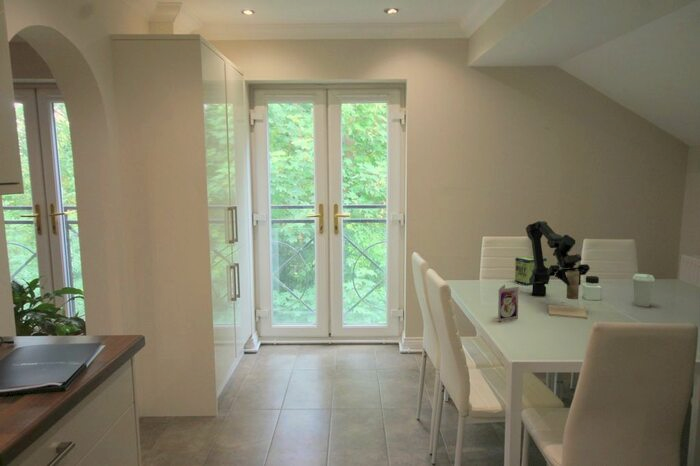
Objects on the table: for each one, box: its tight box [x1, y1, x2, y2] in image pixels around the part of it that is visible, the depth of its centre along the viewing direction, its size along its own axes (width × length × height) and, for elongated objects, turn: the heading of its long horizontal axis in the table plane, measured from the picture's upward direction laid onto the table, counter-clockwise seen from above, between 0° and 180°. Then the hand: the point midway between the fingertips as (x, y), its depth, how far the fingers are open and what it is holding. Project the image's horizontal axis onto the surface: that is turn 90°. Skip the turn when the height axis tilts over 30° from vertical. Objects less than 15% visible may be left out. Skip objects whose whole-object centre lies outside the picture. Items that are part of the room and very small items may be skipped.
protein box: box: [514, 255, 548, 286], centre depth 283 cm, size 10×16×16 cm
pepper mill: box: [566, 270, 580, 300], centre depth 219 cm, size 5×5×13 cm
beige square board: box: [548, 304, 588, 319], centre depth 220 cm, size 16×16×1 cm
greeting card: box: [497, 284, 520, 323], centre depth 211 cm, size 11×7×15 cm, turn 113°
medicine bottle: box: [582, 275, 602, 301], centre depth 244 cm, size 7×7×12 cm
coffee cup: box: [631, 273, 656, 308], centre depth 230 cm, size 10×10×15 cm
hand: (574, 285), depth 218 cm, fingers closed on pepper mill, 5 cm apart
